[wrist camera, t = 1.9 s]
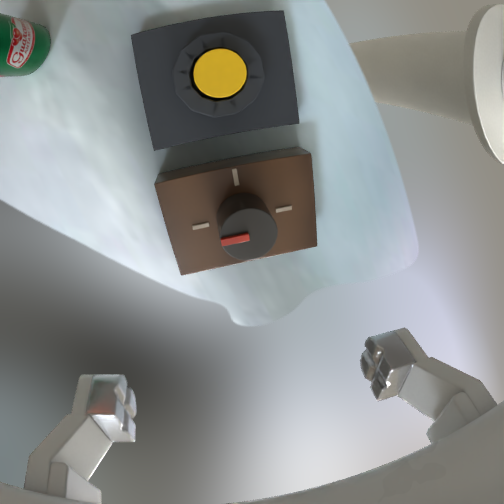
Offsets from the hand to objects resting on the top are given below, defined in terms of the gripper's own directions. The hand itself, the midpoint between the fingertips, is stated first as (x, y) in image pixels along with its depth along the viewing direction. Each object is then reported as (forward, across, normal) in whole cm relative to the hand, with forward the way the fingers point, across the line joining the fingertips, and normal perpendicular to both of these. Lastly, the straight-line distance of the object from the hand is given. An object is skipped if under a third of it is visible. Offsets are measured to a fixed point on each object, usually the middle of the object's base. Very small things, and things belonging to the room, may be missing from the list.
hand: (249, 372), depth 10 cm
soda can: (+21, +16, -16) cm, 31 cm away
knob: (+18, -2, +3) cm, 18 cm away
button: (+17, -1, -9) cm, 20 cm away
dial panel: (+21, -2, +3) cm, 21 cm away
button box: (+21, -1, -9) cm, 23 cm away
